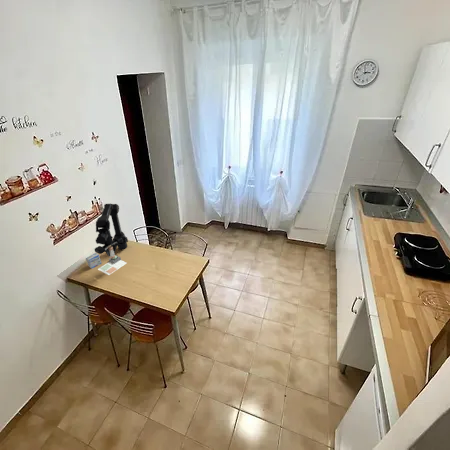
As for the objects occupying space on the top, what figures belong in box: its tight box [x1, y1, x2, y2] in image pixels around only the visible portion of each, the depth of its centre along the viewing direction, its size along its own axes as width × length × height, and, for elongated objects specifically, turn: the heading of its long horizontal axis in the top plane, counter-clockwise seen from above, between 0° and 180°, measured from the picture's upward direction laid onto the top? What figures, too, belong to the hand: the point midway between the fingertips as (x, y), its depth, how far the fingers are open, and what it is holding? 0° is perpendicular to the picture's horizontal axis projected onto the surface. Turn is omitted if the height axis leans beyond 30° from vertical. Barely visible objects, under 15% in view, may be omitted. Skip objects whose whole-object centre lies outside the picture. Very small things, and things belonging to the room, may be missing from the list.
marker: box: [107, 245, 116, 259], centre depth 178 cm, size 4×4×8 cm
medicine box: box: [85, 252, 102, 270], centre depth 186 cm, size 8×4×9 cm, turn 143°
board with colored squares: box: [97, 254, 127, 276], centre depth 186 cm, size 18×15×3 cm
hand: (111, 254), depth 179 cm, fingers closed on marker, 4 cm apart
